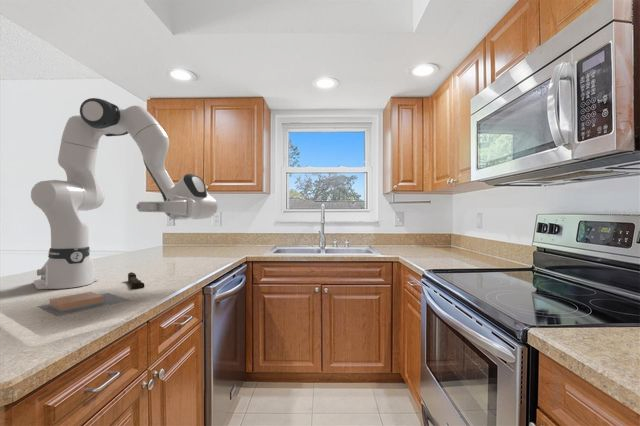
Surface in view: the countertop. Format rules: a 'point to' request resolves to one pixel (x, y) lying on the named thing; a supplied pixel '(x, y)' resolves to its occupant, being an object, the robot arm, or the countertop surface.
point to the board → (107, 300)
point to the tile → (76, 301)
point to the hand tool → (134, 281)
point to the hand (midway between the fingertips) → (138, 206)
